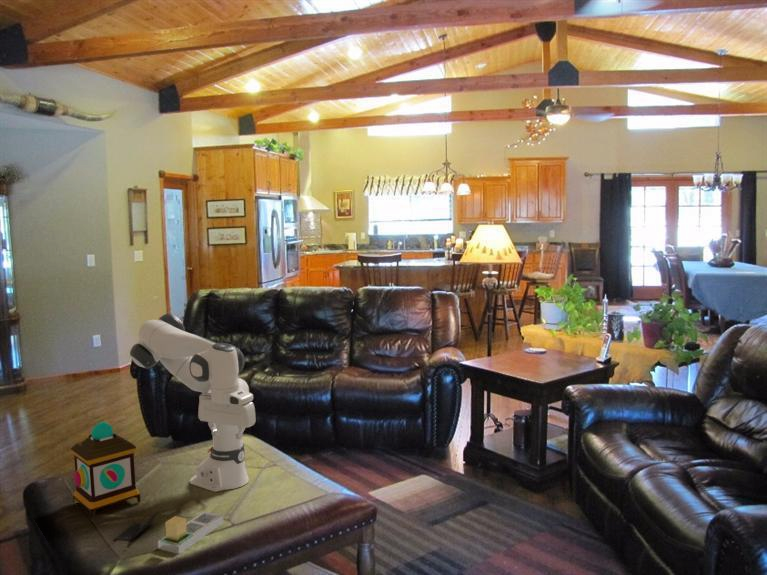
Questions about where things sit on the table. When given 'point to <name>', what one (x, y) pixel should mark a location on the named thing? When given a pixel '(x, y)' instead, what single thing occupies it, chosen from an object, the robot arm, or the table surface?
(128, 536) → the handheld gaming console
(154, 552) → the table surface
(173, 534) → the tan rectangular block
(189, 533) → the white compartment tray
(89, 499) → the decorative lantern
